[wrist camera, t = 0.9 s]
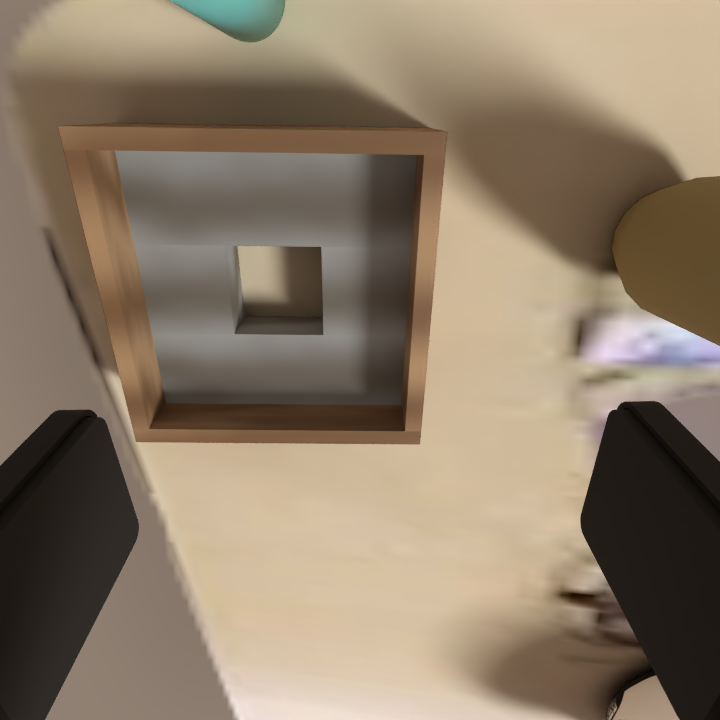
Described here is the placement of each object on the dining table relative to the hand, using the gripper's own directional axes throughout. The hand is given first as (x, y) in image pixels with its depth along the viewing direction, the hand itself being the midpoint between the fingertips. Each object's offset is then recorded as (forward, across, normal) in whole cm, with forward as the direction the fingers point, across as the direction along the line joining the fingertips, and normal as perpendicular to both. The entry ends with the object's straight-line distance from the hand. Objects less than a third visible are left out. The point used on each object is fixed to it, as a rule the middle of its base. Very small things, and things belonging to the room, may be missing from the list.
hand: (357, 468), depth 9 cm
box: (+24, +5, +4) cm, 24 cm away
